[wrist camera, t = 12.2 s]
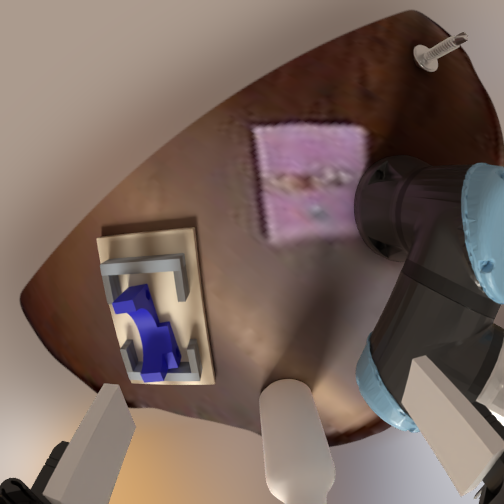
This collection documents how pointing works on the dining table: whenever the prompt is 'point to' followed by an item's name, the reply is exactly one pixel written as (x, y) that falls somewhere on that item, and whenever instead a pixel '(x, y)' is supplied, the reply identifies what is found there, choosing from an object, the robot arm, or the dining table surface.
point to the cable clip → (150, 333)
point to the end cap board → (160, 298)
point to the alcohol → (294, 444)
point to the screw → (436, 52)
